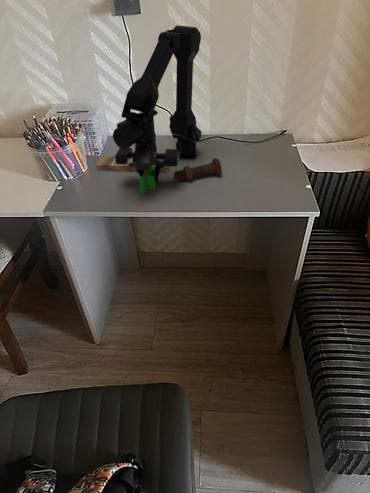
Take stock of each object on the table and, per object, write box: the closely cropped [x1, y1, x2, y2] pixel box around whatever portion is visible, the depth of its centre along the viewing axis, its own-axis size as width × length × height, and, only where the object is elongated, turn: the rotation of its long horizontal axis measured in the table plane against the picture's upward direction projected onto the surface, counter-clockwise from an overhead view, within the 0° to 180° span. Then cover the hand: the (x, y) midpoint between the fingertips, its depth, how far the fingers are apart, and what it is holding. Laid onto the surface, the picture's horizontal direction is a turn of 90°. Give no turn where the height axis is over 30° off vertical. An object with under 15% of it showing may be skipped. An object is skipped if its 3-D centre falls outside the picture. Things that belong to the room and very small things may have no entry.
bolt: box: [173, 157, 223, 182], centre depth 120 cm, size 6×5×15 cm
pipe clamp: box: [139, 168, 159, 195], centre depth 117 cm, size 11×4×5 cm, turn 172°
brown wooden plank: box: [95, 155, 170, 174], centre depth 126 cm, size 24×6×2 cm, turn 82°
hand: (150, 181), depth 118 cm, fingers open, 4 cm apart
